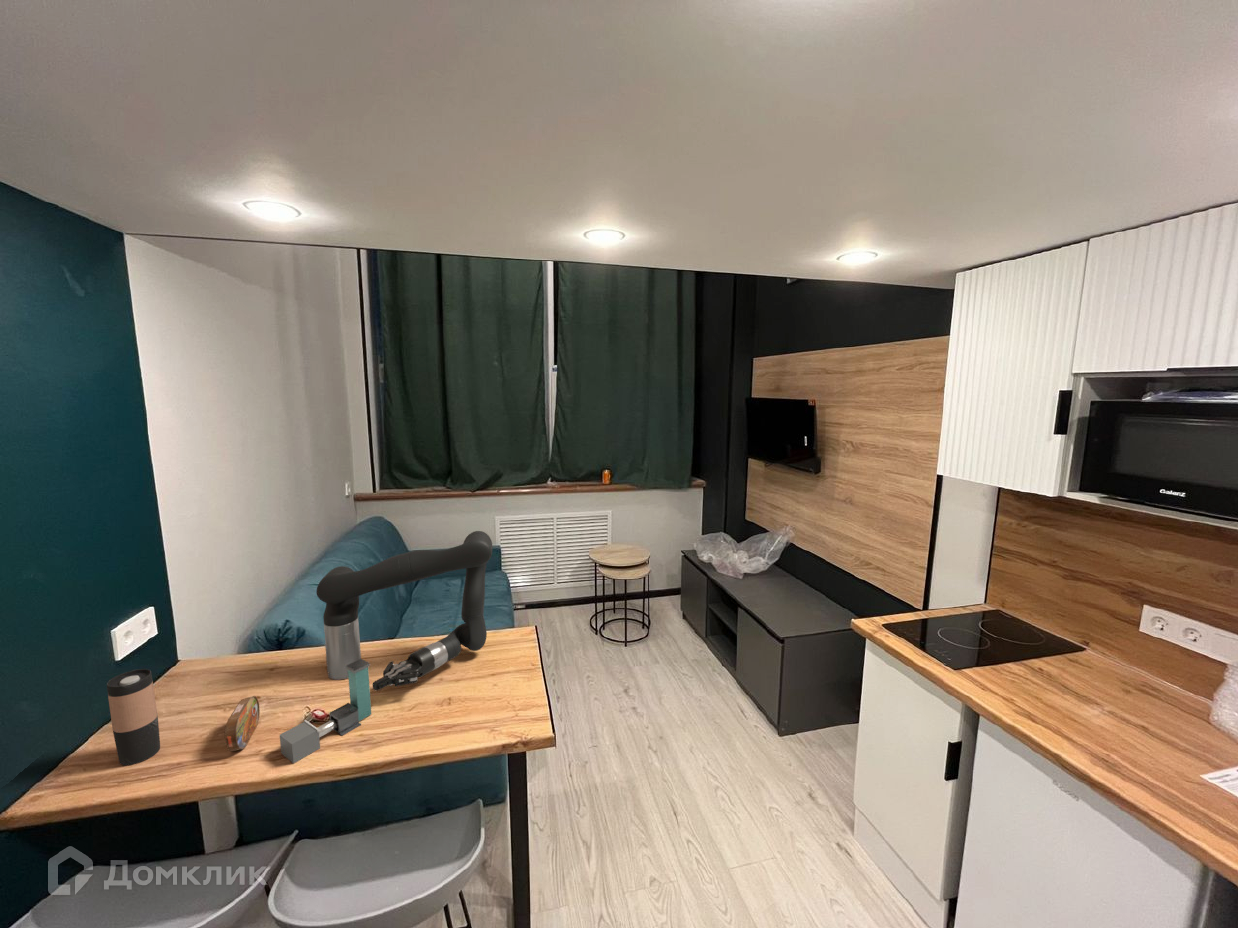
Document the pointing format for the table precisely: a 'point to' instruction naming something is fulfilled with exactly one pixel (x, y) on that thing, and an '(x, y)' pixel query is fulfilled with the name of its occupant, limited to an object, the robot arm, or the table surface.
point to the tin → (242, 723)
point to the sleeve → (345, 718)
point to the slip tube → (354, 693)
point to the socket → (299, 741)
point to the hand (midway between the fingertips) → (374, 686)
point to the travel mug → (134, 716)
